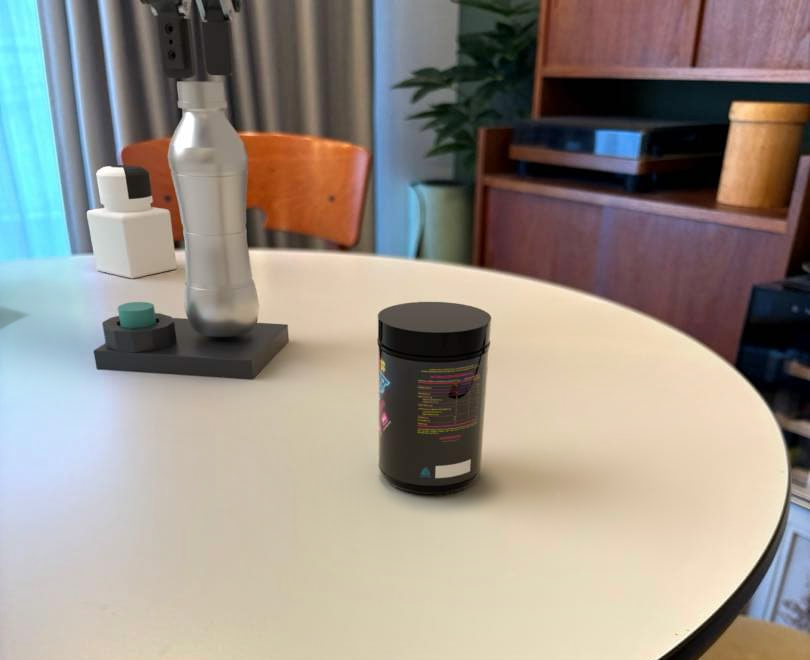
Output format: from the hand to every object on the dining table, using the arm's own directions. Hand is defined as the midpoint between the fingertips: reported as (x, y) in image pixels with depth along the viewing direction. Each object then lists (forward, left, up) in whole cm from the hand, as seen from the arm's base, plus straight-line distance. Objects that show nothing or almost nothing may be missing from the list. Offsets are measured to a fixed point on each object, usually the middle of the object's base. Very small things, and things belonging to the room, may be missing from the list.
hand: (201, 76), depth 64 cm
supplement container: (+21, -22, -22) cm, 38 cm away
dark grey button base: (-3, -1, -22) cm, 22 cm away
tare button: (-7, -4, -19) cm, 20 cm away
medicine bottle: (-23, +30, -22) cm, 44 cm away
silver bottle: (0, 0, -21) cm, 21 cm away
